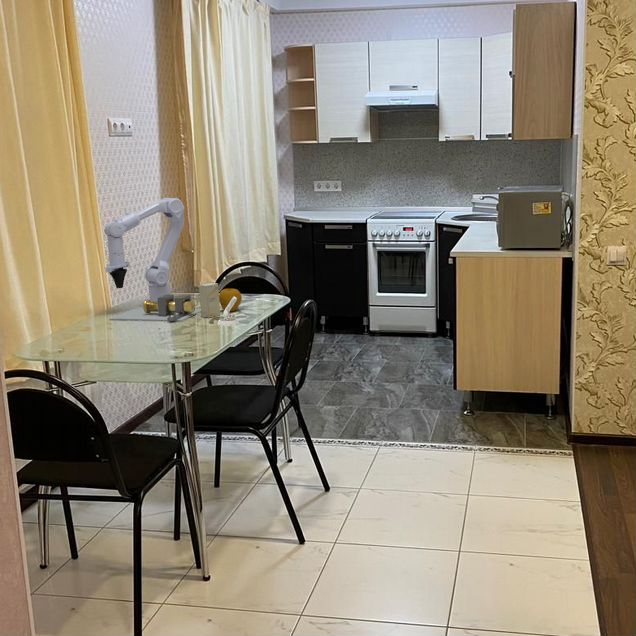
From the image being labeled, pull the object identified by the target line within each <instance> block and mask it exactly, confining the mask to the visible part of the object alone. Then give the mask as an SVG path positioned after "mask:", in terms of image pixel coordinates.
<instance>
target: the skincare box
mask: <svg viewBox="0 0 636 636" xmlns="http://www.w3.org/2000/svg"><path fill="white" fill-rule="evenodd" d="M198 291H199V292H198V293H199V302H200V310H201V313H200V317H201V318H205V317H208V318H207V319H210V317H211V318H215V317H219V316H221V304H220V301H219V294H220V291H219V283H217V282H215V283H214V282H207V283H204V284H203V283H202V284H199V285H198ZM218 315H219V316H218ZM214 316H215V317H214Z"/></svg>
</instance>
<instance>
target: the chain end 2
mask: <svg viewBox="0 0 636 636" xmlns="http://www.w3.org/2000/svg"><path fill="white" fill-rule="evenodd" d="M174 301H175V312H176V313H174V315H169V318H167V320H168V321H167V322H176V321H175V320H177V319H180V318H182V317H184V316H186V315H188V314H190V313H192V312H184V305H183V302H192V297H191V294H180V295H179V296H176V297H174Z"/></svg>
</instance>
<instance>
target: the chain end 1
mask: <svg viewBox="0 0 636 636" xmlns="http://www.w3.org/2000/svg"><path fill="white" fill-rule="evenodd" d="M174 298H175V294H172V293H171V294H166V295H164V296H161V297H159V298H157V300H158V311H159V316H162V317H166V316H169V315H171V314H173V313H175V312H167V305H166V301H175V300H174Z"/></svg>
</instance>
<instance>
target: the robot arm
mask: <svg viewBox="0 0 636 636" xmlns="http://www.w3.org/2000/svg"><path fill="white" fill-rule="evenodd" d="M185 208H186V207H185V206H184V204H183V202H182V200H181V199H179V198H177V197H174V198H172V197H163V198H162V199H159V200H156V201H154V202H153V203H151V204H150V205H147V206H146V207H144V208H143V209H140V210H139V211H137V212H136V213H135V212H133V211H131V212H129V211H127V212H125V215H123V216H121V217H119V218H114V221H109V222H107V223H106V225H105V226H104V229H103V232H104V234H105V235H106V236H107V237H106V238H107V239H106V240H107V249H108V259H109V260H108V261H109V264H107V265H106V267H105V272H106V273H108V274H109V275H110V276H111V278H112V279H113V282H114V285H115V287H116V289H123V288H124V284H125V278H126V275H127V272H128V269H127V268H129V267H130V262H129V261H126V259H125V258H126V257H125V251H124V240H123V235H125V234H124V233H127V232H128V231H130V230H132V229H134V228H136V227H137V226H138V227H139V225H140V223H141V221H143V220H145V219H147V218H149V217H151V216H153V215H155V214H157V213H163V214H164V215H165V217H166V218H167V220H168V221H169V225H168V227H167V230H166V233H165V235H164V238H163V240H162V242H161V246H160V248H159V250H158V253H157V256H156V258H155V260H154V261H153V262H152V263H151V265H150V266H149V268H148V269H147V270H146V271H145V274H144V275H145V280H146V281H147V282H148V293H149V294H148V295H149V296H148V297H149V300H150V301H158V300H157V298H159V297H161V296H164V295H166V294H172V289H171V286H170V285H169V284H167V283H168V282H169V273H170V265H169V264H170V262H171V259H172V257H173V254H174V251H175V249H176V247H177V243H178V241H179V239H180V236H181V233H182V232H183V229H184V225H185Z"/></svg>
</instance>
